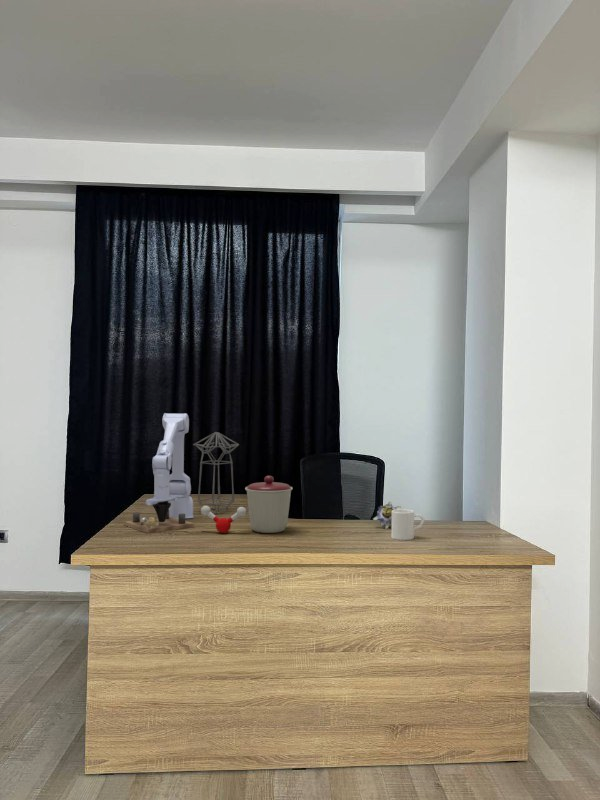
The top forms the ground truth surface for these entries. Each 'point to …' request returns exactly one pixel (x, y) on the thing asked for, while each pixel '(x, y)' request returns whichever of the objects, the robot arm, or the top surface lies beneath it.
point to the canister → (268, 505)
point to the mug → (404, 524)
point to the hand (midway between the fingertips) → (161, 521)
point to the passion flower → (385, 514)
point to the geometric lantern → (219, 436)
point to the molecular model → (223, 523)
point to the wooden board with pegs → (159, 523)
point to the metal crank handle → (151, 520)
